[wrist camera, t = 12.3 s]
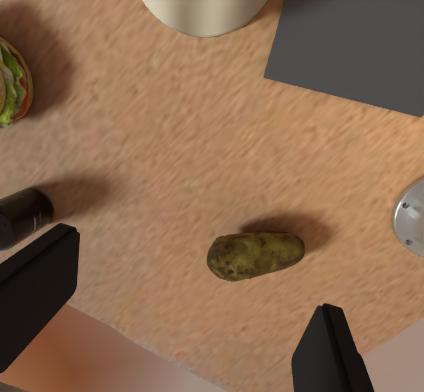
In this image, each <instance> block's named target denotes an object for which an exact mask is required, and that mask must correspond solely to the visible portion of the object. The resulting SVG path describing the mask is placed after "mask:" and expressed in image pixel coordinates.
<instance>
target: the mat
mask: <svg viewBox="0 0 424 392" xmlns="http://www.w3.org/2000/svg"><path fill="white" fill-rule="evenodd" d="M264 78H268V79H272V80H276V81H279V82H283V83H287V84H291V85H295V86H299V87H303V88H307V89H311V90H315V91H319V92H323V93H327V94H331V95H335V96H339V97H343V98H347V99H351V100H355V101H359V102H363V103H366V104H370V105H374V106H378V107H382V108H386V109H390V110H394V111H398V112H402V113H406V114H410V115H414V116H418V117H422V115H423V113H424V0H285V3H284V7H283V10H282V14H281V17H280V21H279V24H278V28H277V31H276V35H275V38H274V42H273V46H272V49H271V53H270V56H269V60H268V63H267V67H266V70H265V74H264Z"/></svg>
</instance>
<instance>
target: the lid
mask: <svg viewBox="0 0 424 392" xmlns="http://www.w3.org/2000/svg"><path fill="white" fill-rule="evenodd" d="M267 1H268V0H143V2H144V3H145V5H146V6H147V7H148V9H149V10H150V11H151V12H152V13H153V14H154V15H155V16H156V17H157V18H158V19H159V20H160V21H162V22H163V23H165V24H166V25H168V26H169V27H171V28H172V29H174V30H176V31H178V32H180V33H183V34H186V35H189V36H194V37H216V36H221V35H224V34H227V33H230V32H232V31H234V30H236V29H238V28H240V27H241V26H243V25H245V24H246V23H247V22H249V21H250V20H251V19H252V18H253V17H255V16H256V14H257V13H258V12H259V11H260V10H261V9H262V8H263V7H264V5H265V4H266V3H267Z"/></svg>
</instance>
